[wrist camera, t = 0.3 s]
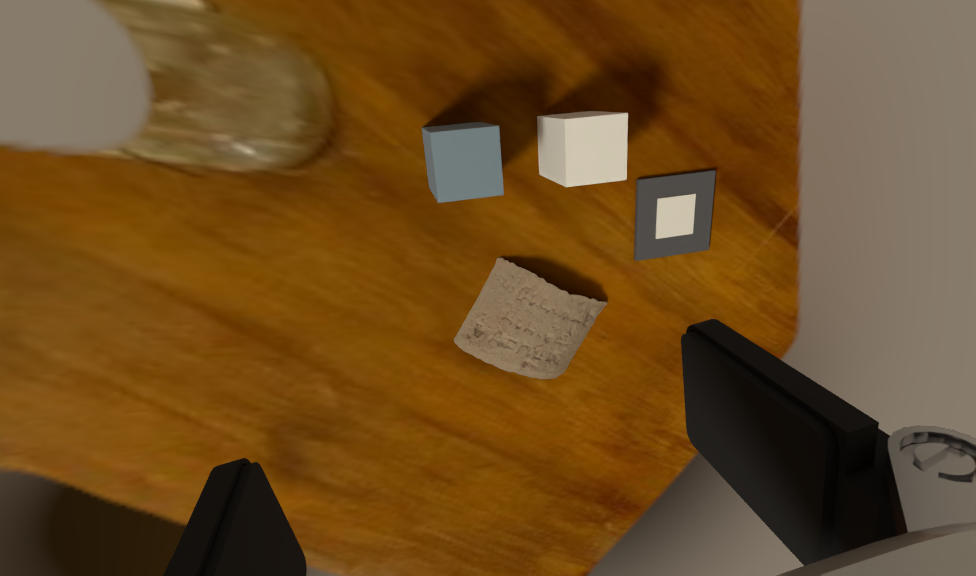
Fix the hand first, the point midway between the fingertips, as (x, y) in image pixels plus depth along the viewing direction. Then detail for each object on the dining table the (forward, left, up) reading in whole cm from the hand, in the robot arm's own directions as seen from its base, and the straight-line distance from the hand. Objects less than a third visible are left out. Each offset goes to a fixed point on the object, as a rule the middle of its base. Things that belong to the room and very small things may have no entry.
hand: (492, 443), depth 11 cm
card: (+6, +25, -35) cm, 44 cm away
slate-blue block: (-2, +4, -35) cm, 35 cm away
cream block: (-2, +14, -35) cm, 38 cm away
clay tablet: (+15, +10, -36) cm, 40 cm away
